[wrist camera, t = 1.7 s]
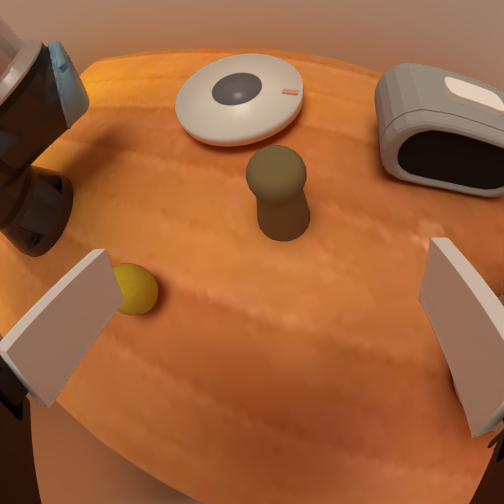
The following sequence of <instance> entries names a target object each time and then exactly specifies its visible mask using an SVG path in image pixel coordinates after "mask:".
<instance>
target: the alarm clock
mask: <svg viewBox="0 0 504 504" xmlns="http://www.w3.org/2000/svg"><path fill="white" fill-rule="evenodd" d="M374 101H375V108H376V116H377V124H378V133H379V144H380V155H381V160H382V164H383V166H384V168H385V169H386V170H387V172H388V173H390V174H392V175H393V176H395V177H396V178H398V179H401V180H405V181H409V182H413V183H417V184H422V185H427V186H433V187H438V188H443V189H448V190H453V191H458V192H462V193H467V194H471V195H478V196H484V197H498V196H503V195H504V93H502V92H501V91H499V90H497V89H495V88H493V87H492V86H490V85H487V84H485V83H482V82H479V81H477V80H474V79H471V78H468V77H466V76H463V75H460V74H457V73H453V72H450V71H447V70H443V69H440V68H436V67H433V66H427V65H420V64H413V63H405V64H401V65H398V66H394V67H392V68H391V69H389V70H388V71H387V72H385V73H384V74H383V76H382V77H381V79H380V80H379V81H378V84H377V87H376V90H375V99H374Z"/></svg>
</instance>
